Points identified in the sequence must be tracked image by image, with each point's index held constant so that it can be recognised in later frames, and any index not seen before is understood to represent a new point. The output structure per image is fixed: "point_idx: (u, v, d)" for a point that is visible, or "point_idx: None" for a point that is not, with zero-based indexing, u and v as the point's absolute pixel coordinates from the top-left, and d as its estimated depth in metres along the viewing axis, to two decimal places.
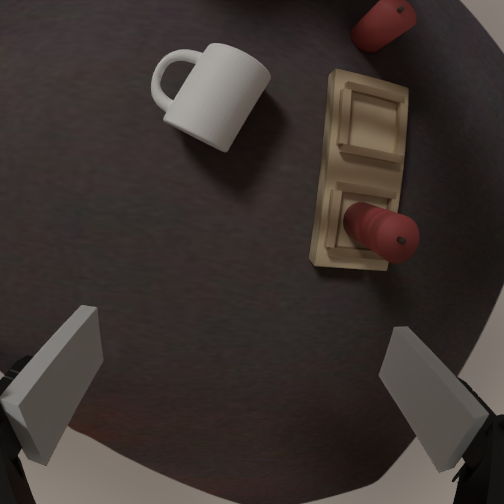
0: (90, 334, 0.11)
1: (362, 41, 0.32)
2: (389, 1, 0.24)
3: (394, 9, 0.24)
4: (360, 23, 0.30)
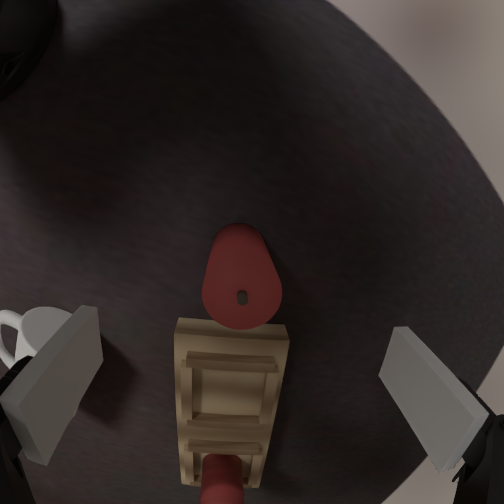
0: (90, 334, 0.11)
1: None
2: (223, 276, 0.18)
3: (232, 294, 0.18)
4: None
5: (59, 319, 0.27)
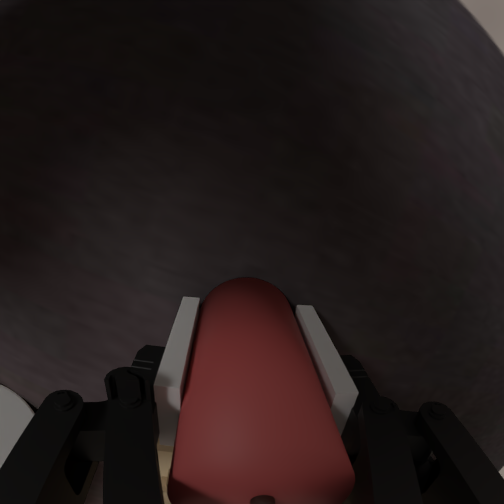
0: (196, 322, 0.14)
1: None
2: (215, 479, 0.06)
3: (240, 500, 0.06)
4: None
5: None
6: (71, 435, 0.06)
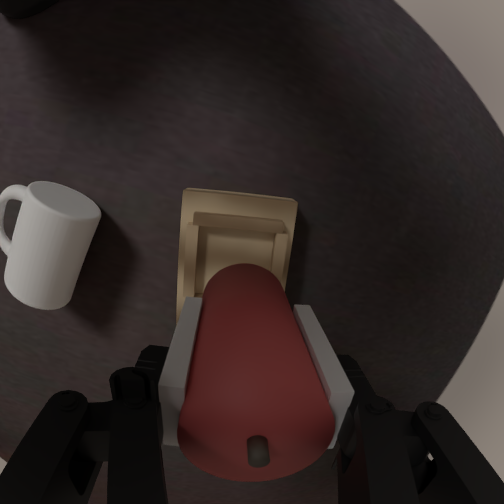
0: None
1: None
2: (218, 417, 0.08)
3: (238, 441, 0.08)
4: None
5: (67, 192, 0.27)
6: (75, 436, 0.06)
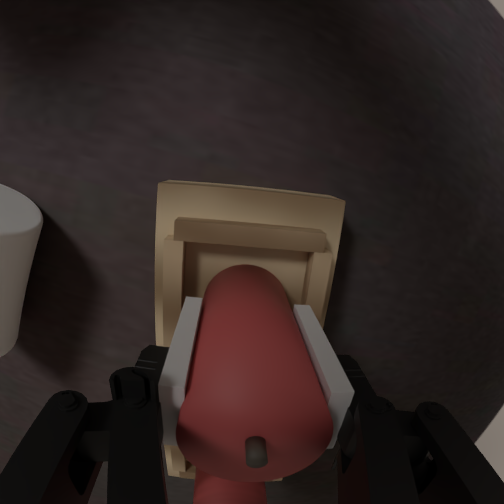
0: None
1: None
2: (216, 417, 0.08)
3: (236, 441, 0.08)
4: None
5: (0, 192, 0.16)
6: (75, 436, 0.06)
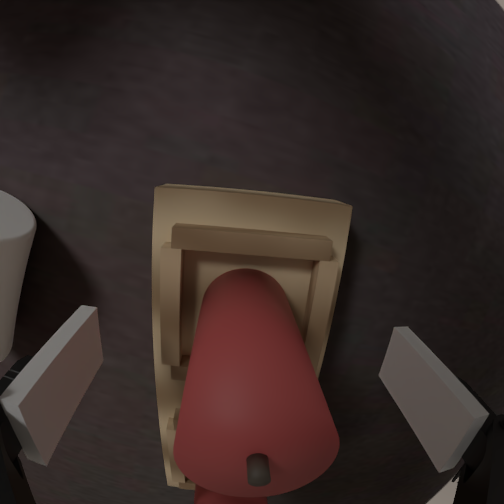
0: (90, 334, 0.11)
1: None
2: (216, 435, 0.07)
3: (238, 458, 0.07)
4: None
5: None
6: None
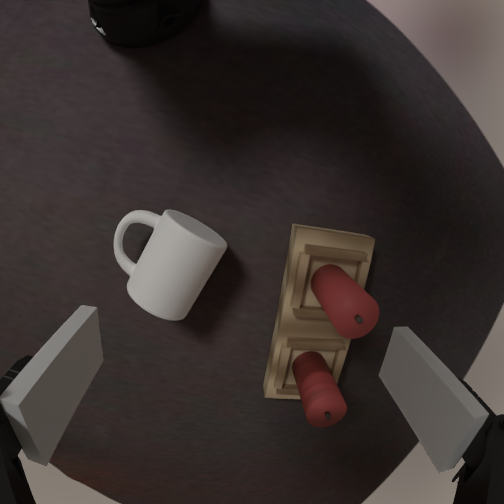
0: (90, 334, 0.11)
1: None
2: (348, 306, 0.28)
3: (352, 317, 0.29)
4: (318, 290, 0.34)
5: (192, 220, 0.37)
6: None
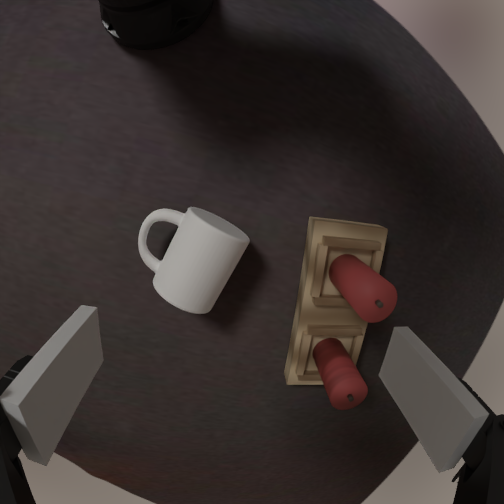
0: (90, 334, 0.11)
1: (338, 290, 0.38)
2: (369, 292, 0.30)
3: (373, 302, 0.30)
4: (338, 279, 0.36)
5: (214, 217, 0.38)
6: None
